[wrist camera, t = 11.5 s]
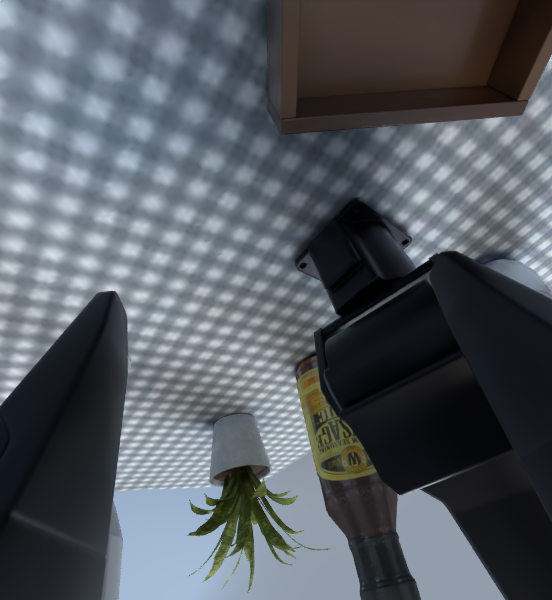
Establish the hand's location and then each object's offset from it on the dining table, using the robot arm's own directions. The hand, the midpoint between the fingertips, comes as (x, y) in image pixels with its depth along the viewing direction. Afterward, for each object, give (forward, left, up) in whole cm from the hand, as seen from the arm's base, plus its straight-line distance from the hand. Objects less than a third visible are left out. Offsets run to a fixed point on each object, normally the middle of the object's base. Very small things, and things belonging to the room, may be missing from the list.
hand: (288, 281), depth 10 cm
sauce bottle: (-21, +16, -12) cm, 29 cm away
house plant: (-20, +29, -12) cm, 37 cm away
